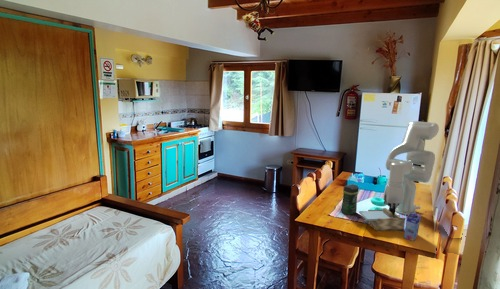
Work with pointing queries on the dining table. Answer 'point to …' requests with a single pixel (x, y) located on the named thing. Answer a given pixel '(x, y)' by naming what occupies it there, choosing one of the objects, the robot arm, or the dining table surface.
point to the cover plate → (376, 214)
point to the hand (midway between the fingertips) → (391, 213)
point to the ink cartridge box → (412, 226)
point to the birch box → (388, 223)
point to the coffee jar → (350, 199)
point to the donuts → (377, 203)
